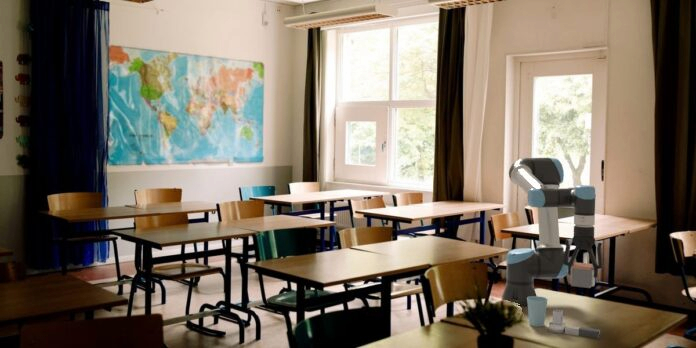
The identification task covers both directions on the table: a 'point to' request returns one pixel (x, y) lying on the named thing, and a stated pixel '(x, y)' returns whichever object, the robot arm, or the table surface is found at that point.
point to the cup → (537, 310)
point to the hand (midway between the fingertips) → (582, 284)
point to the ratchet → (570, 327)
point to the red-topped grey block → (581, 275)
